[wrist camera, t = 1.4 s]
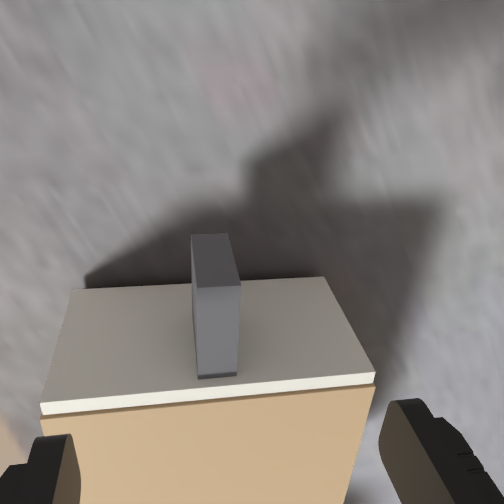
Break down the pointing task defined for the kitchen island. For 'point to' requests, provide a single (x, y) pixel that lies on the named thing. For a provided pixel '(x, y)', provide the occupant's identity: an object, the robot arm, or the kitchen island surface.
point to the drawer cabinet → (221, 448)
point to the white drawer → (201, 339)
